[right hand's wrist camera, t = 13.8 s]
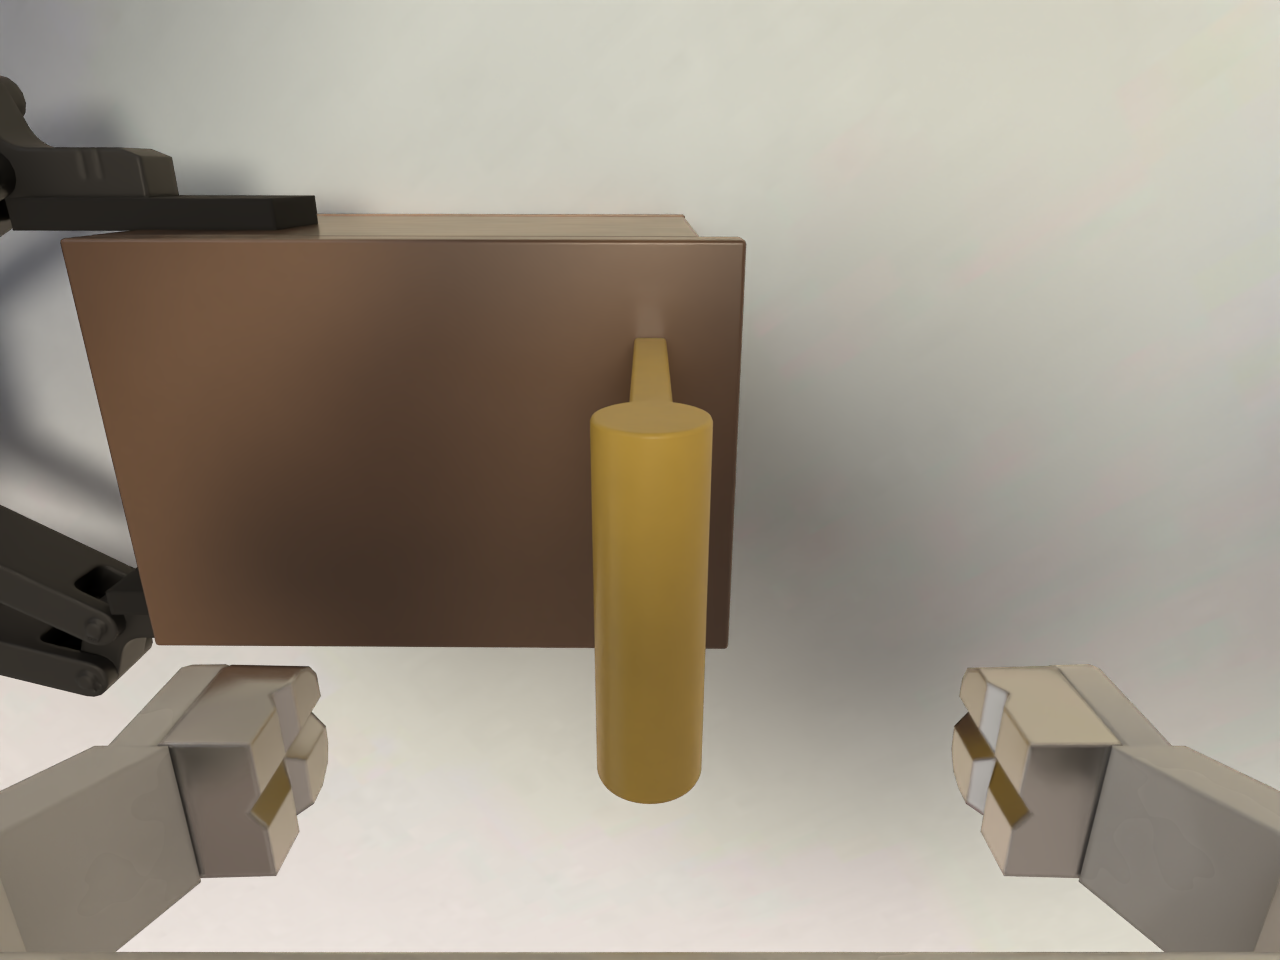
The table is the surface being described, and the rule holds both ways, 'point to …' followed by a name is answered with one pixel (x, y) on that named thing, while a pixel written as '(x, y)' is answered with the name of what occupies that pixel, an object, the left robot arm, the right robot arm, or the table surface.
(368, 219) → the brown wooden box
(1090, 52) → the table surface
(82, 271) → the door
